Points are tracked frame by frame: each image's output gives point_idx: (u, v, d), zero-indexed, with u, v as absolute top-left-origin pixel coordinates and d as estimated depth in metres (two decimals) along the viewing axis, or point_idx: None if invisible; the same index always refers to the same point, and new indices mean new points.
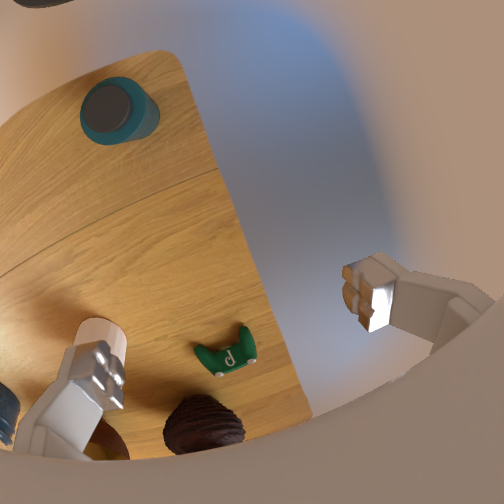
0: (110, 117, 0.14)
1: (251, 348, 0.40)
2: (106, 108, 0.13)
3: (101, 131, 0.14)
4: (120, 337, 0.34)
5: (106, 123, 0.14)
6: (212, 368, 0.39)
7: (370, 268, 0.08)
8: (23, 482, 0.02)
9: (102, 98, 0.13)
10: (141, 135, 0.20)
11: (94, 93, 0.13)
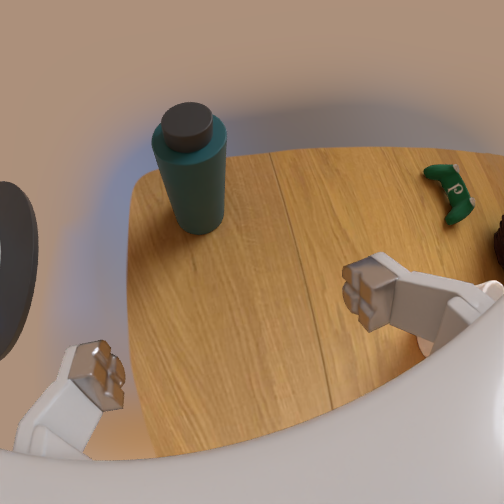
0: (197, 115, 0.15)
1: (444, 165, 0.31)
2: (186, 117, 0.15)
3: (209, 123, 0.15)
4: None
5: (202, 118, 0.15)
6: (467, 206, 0.29)
7: (370, 268, 0.08)
8: (23, 482, 0.02)
9: (174, 120, 0.15)
10: None
11: (164, 126, 0.14)
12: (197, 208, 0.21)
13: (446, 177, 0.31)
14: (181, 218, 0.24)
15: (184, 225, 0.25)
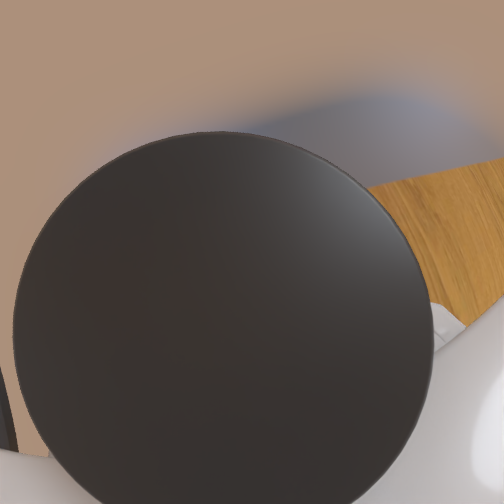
0: (311, 295, 0.02)
1: None
2: (198, 341, 0.01)
3: (424, 382, 0.01)
4: None
5: (367, 339, 0.01)
6: None
7: None
8: (23, 482, 0.02)
9: (88, 374, 0.01)
10: None
11: (45, 431, 0.01)
12: None
13: None
14: None
15: None
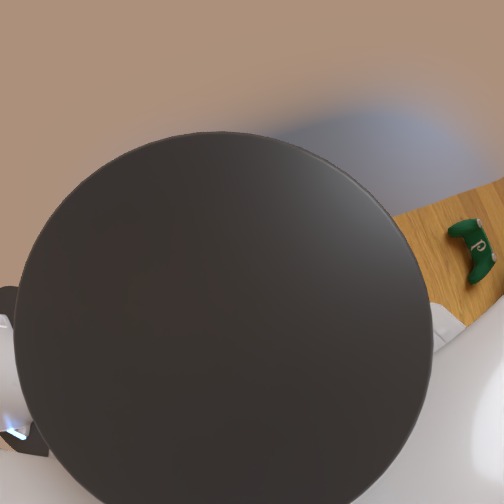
0: (310, 294, 0.02)
1: (468, 222, 0.30)
2: (198, 339, 0.01)
3: (423, 381, 0.01)
4: None
5: (366, 338, 0.01)
6: (489, 264, 0.27)
7: None
8: (23, 482, 0.02)
9: (90, 372, 0.01)
10: None
11: (45, 429, 0.01)
12: None
13: (470, 234, 0.30)
14: None
15: None
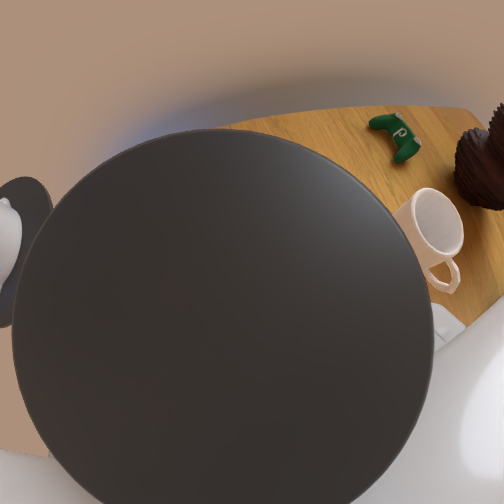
0: (311, 292, 0.02)
1: (386, 115, 0.37)
2: (196, 338, 0.01)
3: (424, 380, 0.01)
4: None
5: (367, 336, 0.01)
6: (412, 145, 0.35)
7: None
8: (23, 482, 0.02)
9: (86, 370, 0.01)
10: None
11: (43, 428, 0.01)
12: None
13: (390, 124, 0.37)
14: None
15: None
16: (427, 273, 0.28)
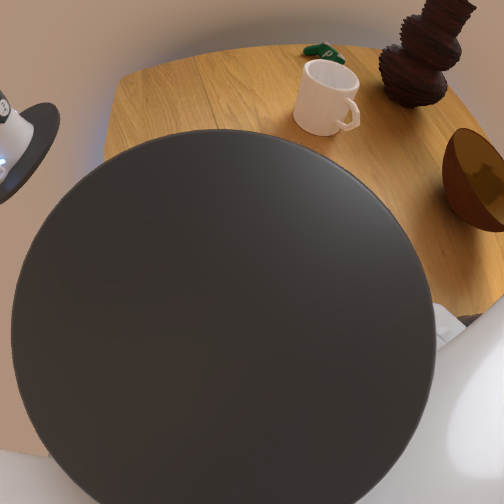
0: (313, 295, 0.02)
1: None
2: (198, 341, 0.01)
3: (426, 383, 0.01)
4: None
5: (369, 339, 0.01)
6: (335, 59, 0.42)
7: None
8: (23, 482, 0.02)
9: (87, 374, 0.01)
10: None
11: (43, 431, 0.01)
12: None
13: (319, 50, 0.44)
14: None
15: None
16: (337, 122, 0.34)
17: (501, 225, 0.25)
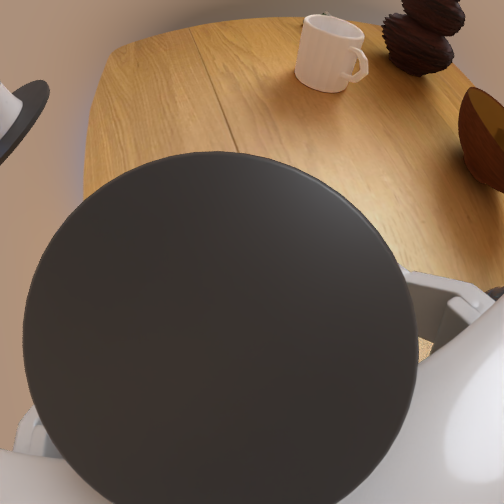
0: (300, 311, 0.02)
1: None
2: (196, 352, 0.02)
3: (408, 391, 0.02)
4: None
5: (352, 351, 0.02)
6: None
7: None
8: (23, 482, 0.02)
9: (96, 381, 0.01)
10: None
11: (54, 433, 0.01)
12: None
13: None
14: None
15: None
16: (343, 74, 0.28)
17: None
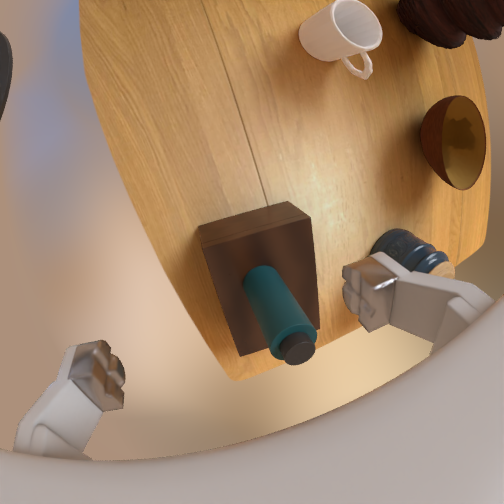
0: (307, 350, 0.24)
1: None
2: (300, 354, 0.24)
3: (313, 353, 0.25)
4: None
5: (309, 351, 0.25)
6: None
7: (370, 268, 0.08)
8: (23, 482, 0.02)
9: (292, 357, 0.24)
10: (295, 299, 0.30)
11: (287, 362, 0.24)
12: None
13: None
14: None
15: None
16: (345, 60, 0.29)
17: (455, 187, 0.37)
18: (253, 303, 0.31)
